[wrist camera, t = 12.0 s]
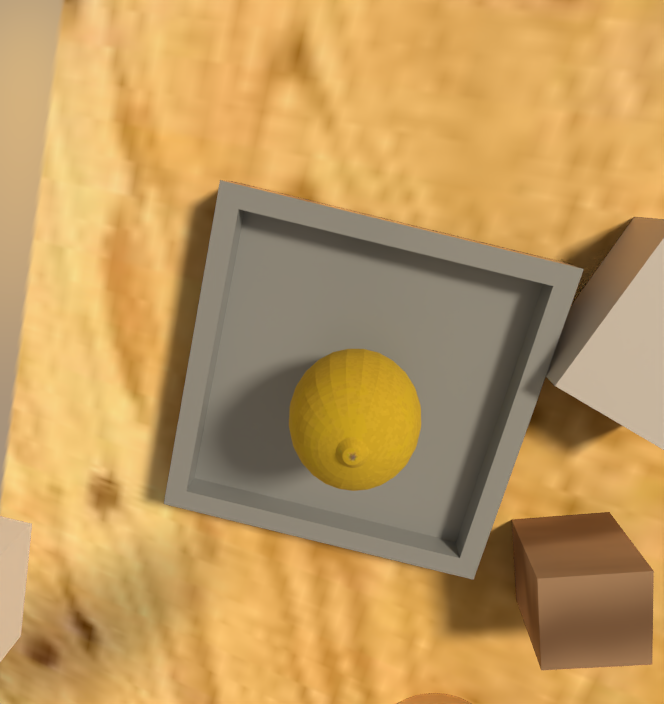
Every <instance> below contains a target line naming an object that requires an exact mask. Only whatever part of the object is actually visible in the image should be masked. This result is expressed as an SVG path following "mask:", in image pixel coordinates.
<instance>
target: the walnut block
mask: <svg viewBox="0 0 664 704" xmlns="http://www.w3.org/2000/svg"><path fill="white" fill-rule="evenodd" d="M512 532H513V551H514V569H515V587H516V601H517V603H518V606H519V609H520V612H521V615H522V617H523V620H524V623H525V626H526V629H527V631H528V634H529V637H530V640H531V643H532V645H533V648H534V651H535V654H536V656H537V659H538V662H539V665H540V668H541V670H554V669H574V668H593V667H613V666H632V665H651V664H652V640H653V570H652V568H651V567H650V566H649V564H648V563H647V562H646V560H645V559H644V558H643V556H642V555H641V554H640V552H639V551H638V550H637V548H636V547H635V546H634V544H633V543H632V542H631V540H630V539H629V538H628V536H627V535H626V534H625V532H624V531H623V530H622V528H621V527H620V526H619V524H618V523H617V522H616V520H615V519H614V518H613V516H612V515H611V514H610V512H604V513H591V514H579V515H566V516H553V517H540V518H527V519H514V520H512Z"/></svg>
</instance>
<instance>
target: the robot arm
mask: <svg viewBox="0 0 664 704" xmlns="http://www.w3.org/2000/svg"><path fill="white" fill-rule="evenodd" d="M31 529H32V524H30V523H26V522H22V521H18V520H14V519H10V518H6V517H2V516H0V662H1V661H2V659H3V658H4V657H5V655H6V654H7V653H8V652H9V650H10V649H11V648H12V647H13V645H14V644H15V643H16V641H17V640H18V639H19V638H20V636H21V629H22V619H23V609H24V599H25V589H26V579H27V569H28V559H29V549H30V539H31Z"/></svg>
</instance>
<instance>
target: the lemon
mask: <svg viewBox="0 0 664 704" xmlns="http://www.w3.org/2000/svg"><path fill="white" fill-rule="evenodd" d="M289 430H290V434H291V439H292V443H293V447H294V449H295V451H296V453H297V455H298V457H299V459H300V460H301V462H302V464H303V465H304V466H305V467H306V468H307V469H308V470H309V471H310V472H311V474H312V475H313V476H315V477H316V478H318V479H319V480H321V481H322V482H323V483H325V484H327V485H330V486H333V487H335V488H338V489H343V490H350V491H357V490H368V489H371V488H374V487H377V486H380V485H382V484H384V483H386V482H387V481H389V480H390V479H392V478H394V477H395V476H396V475H397V474H398V473H399V472H400V471H401V470H402V469H403V468H404V467H405V466H406V464H407V463H408V461H409V459H410V458H411V456H412V454H413V452H414V451H415V449H416V446H417V442H418V438H419V434H420V430H421V405H420V402H419V399H418V396H417V392H416V389H415V387H414V385H413V384H412V382H411V380H410V379H409V377H408V376H407V374H406V372H405V371H403V370H402V369H401V368H400V367H399V366H398V365H397V364H396V363H395V362H394V361H393V360H391V359H389V358H388V357H386V356H384V355H382V354H380V353H378V352H374V351H370V350H366V349H345V350H340V351H336V352H332V353H331V354H329V355H327V356H325V357H323V358H321V359H319V360H318V361H317V362H316V363H315V364H313V365H312V366H311V367H310V368H309V369H308V370H307V371H306V372H305V373H304V375H303V376H302V378H301V379H300V381H299V383H298V384H297V386H296V388H295V390H294V393H293V397H292V400H291V403H290V410H289Z"/></svg>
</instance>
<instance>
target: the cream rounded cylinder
mask: <svg viewBox="0 0 664 704" xmlns="http://www.w3.org/2000/svg"><path fill="white" fill-rule="evenodd" d="M398 704H471V703H469V702H468V701H466V700H464V699H461V698H459V697H456V696H452V695H447V694H439V693H428V694H421V695H416V696H413V697H410V698H407V699H405V700H403V701H401V702H399V703H398Z"/></svg>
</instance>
